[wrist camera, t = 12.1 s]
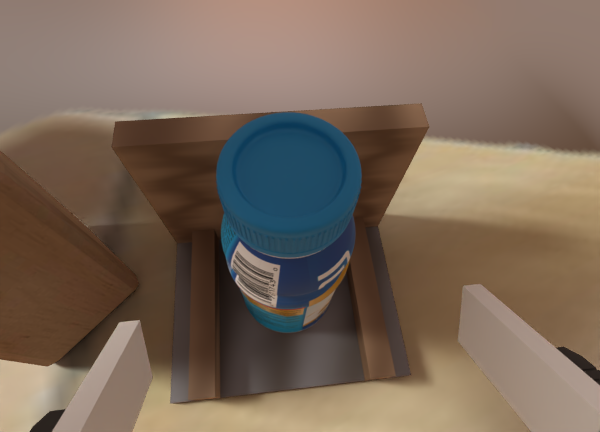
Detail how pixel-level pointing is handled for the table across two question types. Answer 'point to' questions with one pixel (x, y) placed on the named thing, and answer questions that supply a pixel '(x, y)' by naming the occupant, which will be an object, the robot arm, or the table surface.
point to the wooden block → (50, 273)
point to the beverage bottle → (288, 215)
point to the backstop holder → (225, 292)
